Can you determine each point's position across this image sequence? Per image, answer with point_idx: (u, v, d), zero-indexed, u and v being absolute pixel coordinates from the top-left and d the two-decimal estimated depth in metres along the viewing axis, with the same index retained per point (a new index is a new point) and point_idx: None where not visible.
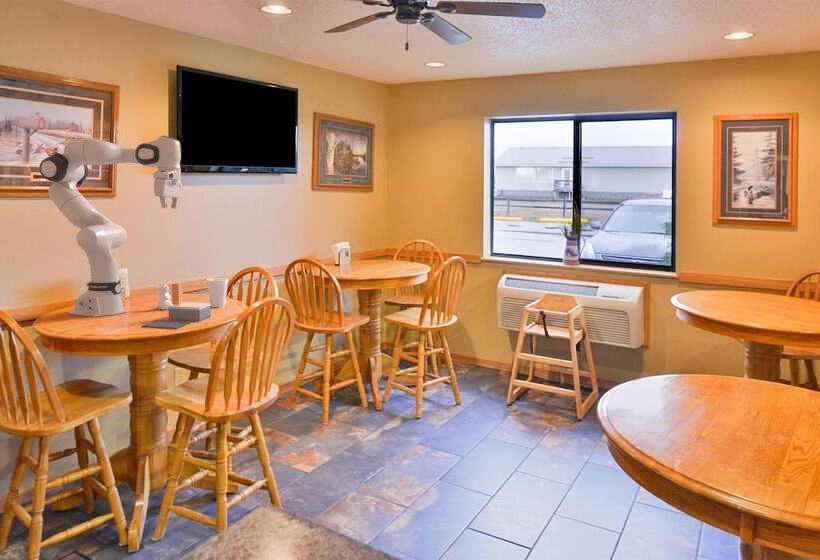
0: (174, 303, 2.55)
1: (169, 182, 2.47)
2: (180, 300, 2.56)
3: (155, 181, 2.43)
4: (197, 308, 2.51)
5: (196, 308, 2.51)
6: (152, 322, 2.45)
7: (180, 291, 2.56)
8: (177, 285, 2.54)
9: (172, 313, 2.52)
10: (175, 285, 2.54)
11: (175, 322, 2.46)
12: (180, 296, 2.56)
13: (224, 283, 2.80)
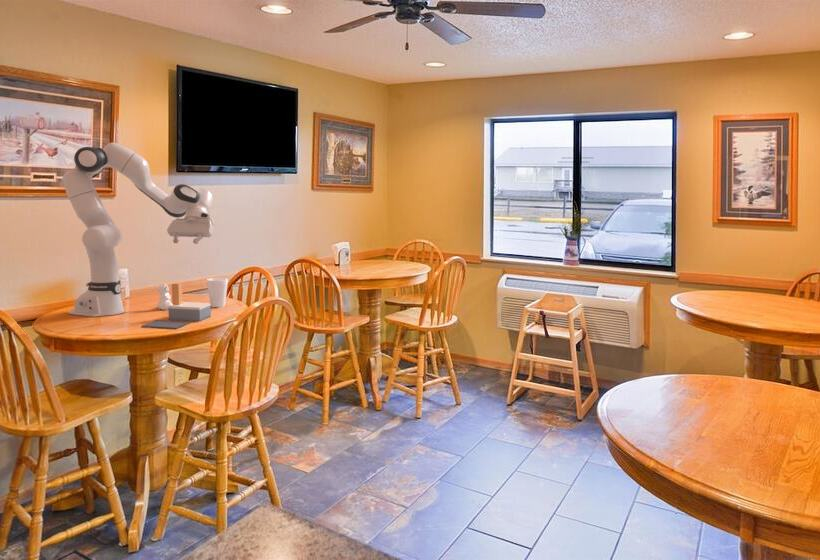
0: (174, 303, 2.55)
1: None
2: (180, 300, 2.56)
3: (211, 222, 2.65)
4: (197, 308, 2.51)
5: (196, 308, 2.51)
6: (152, 322, 2.45)
7: (180, 291, 2.56)
8: (177, 285, 2.54)
9: (172, 313, 2.52)
10: (175, 285, 2.54)
11: (175, 322, 2.46)
12: (180, 296, 2.56)
13: (224, 283, 2.80)
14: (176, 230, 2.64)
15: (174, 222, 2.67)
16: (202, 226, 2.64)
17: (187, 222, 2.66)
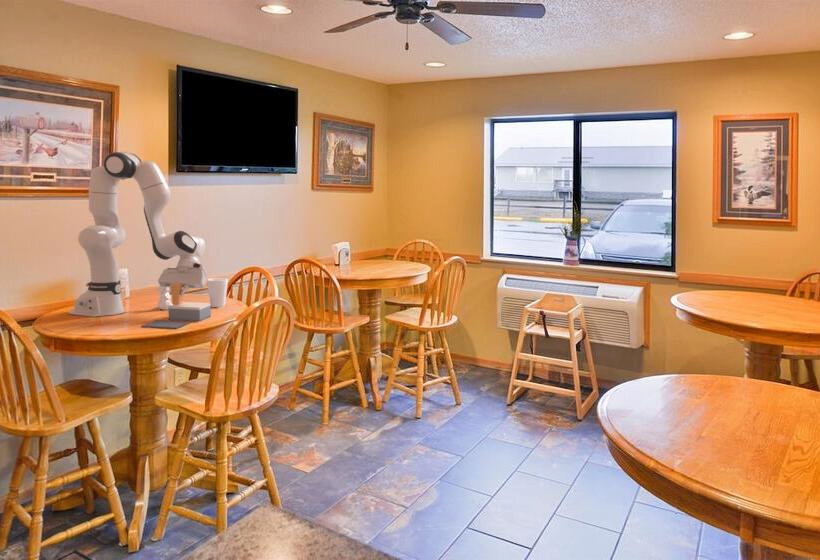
0: (174, 303, 2.55)
1: None
2: (180, 300, 2.56)
3: (203, 273, 2.59)
4: (197, 308, 2.51)
5: (196, 308, 2.51)
6: (152, 322, 2.45)
7: None
8: (177, 285, 2.54)
9: (172, 313, 2.52)
10: (175, 285, 2.54)
11: (175, 322, 2.46)
12: (180, 296, 2.56)
13: (224, 283, 2.80)
14: (167, 281, 2.58)
15: (165, 272, 2.61)
16: (194, 277, 2.58)
17: (179, 272, 2.60)
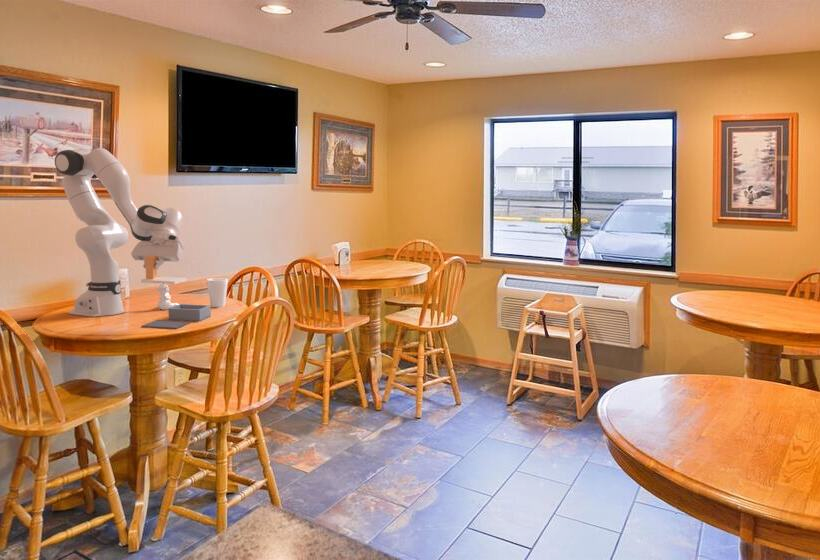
0: (148, 277, 2.40)
1: None
2: (154, 274, 2.41)
3: (179, 245, 2.44)
4: (172, 282, 2.35)
5: (171, 282, 2.35)
6: (152, 322, 2.45)
7: None
8: (151, 258, 2.39)
9: (172, 313, 2.52)
10: (149, 258, 2.39)
11: (175, 322, 2.46)
12: (154, 270, 2.41)
13: (224, 283, 2.80)
14: (141, 254, 2.43)
15: (139, 245, 2.46)
16: (170, 249, 2.43)
17: (153, 245, 2.45)
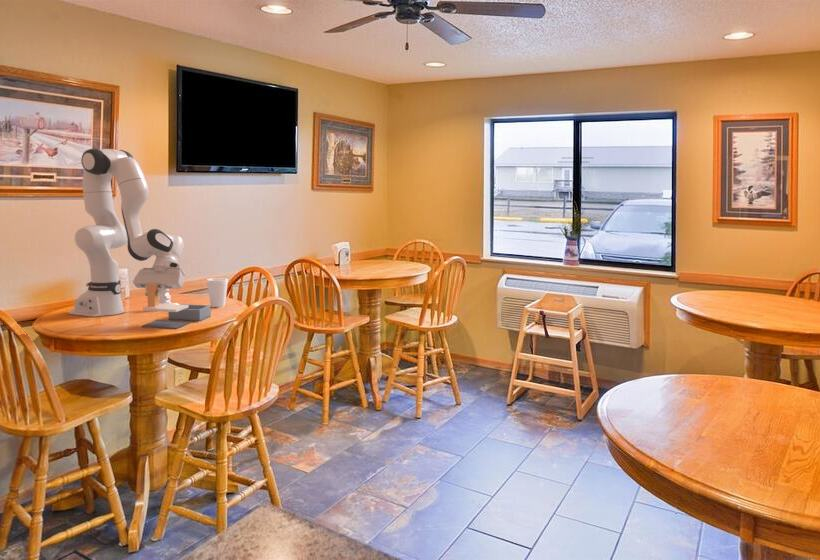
0: (150, 305, 2.42)
1: None
2: (156, 302, 2.42)
3: (180, 272, 2.46)
4: (173, 310, 2.37)
5: (172, 310, 2.37)
6: (152, 322, 2.45)
7: None
8: (153, 286, 2.40)
9: (172, 313, 2.52)
10: (150, 286, 2.40)
11: (175, 322, 2.46)
12: (156, 297, 2.42)
13: (224, 283, 2.80)
14: (143, 281, 2.44)
15: (141, 272, 2.47)
16: (171, 277, 2.44)
17: (155, 272, 2.47)
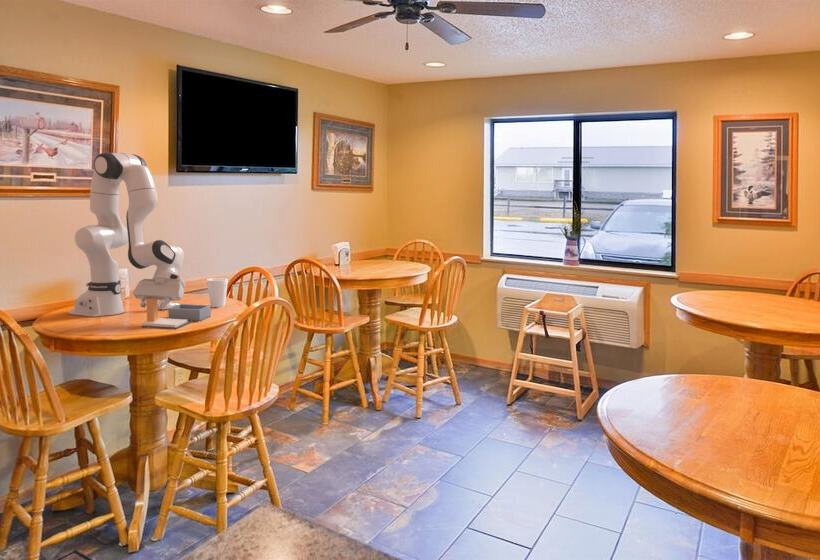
0: (149, 320, 2.43)
1: None
2: (155, 316, 2.43)
3: (180, 284, 2.46)
4: (173, 325, 2.38)
5: (172, 325, 2.38)
6: None
7: (155, 307, 2.43)
8: (152, 301, 2.41)
9: (172, 313, 2.52)
10: (150, 301, 2.41)
11: None
12: (155, 312, 2.43)
13: (224, 283, 2.80)
14: (143, 293, 2.45)
15: (141, 283, 2.48)
16: (171, 288, 2.45)
17: (155, 284, 2.47)
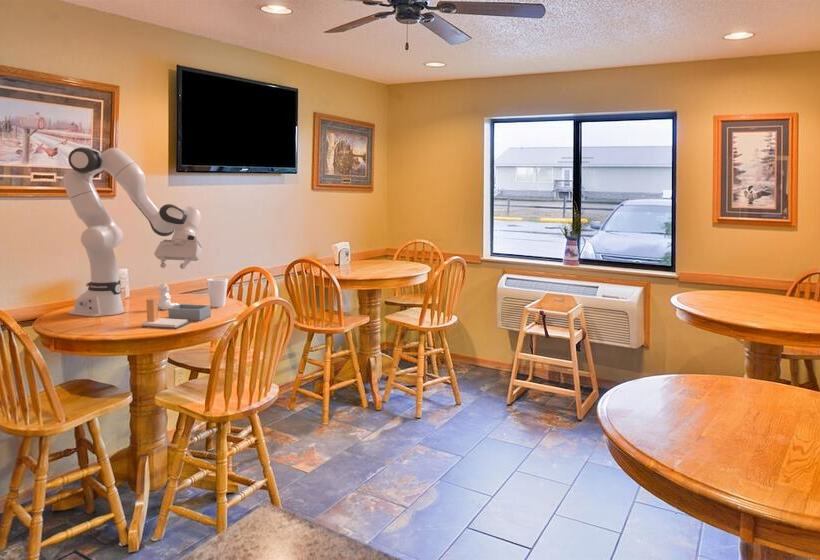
0: (149, 320, 2.43)
1: None
2: (155, 316, 2.43)
3: (197, 245, 2.57)
4: (173, 325, 2.38)
5: (172, 325, 2.38)
6: None
7: (155, 307, 2.43)
8: (152, 301, 2.41)
9: (172, 313, 2.52)
10: (150, 301, 2.41)
11: None
12: (155, 312, 2.43)
13: (224, 283, 2.80)
14: (163, 254, 2.57)
15: (161, 244, 2.60)
16: (189, 249, 2.56)
17: (174, 245, 2.59)
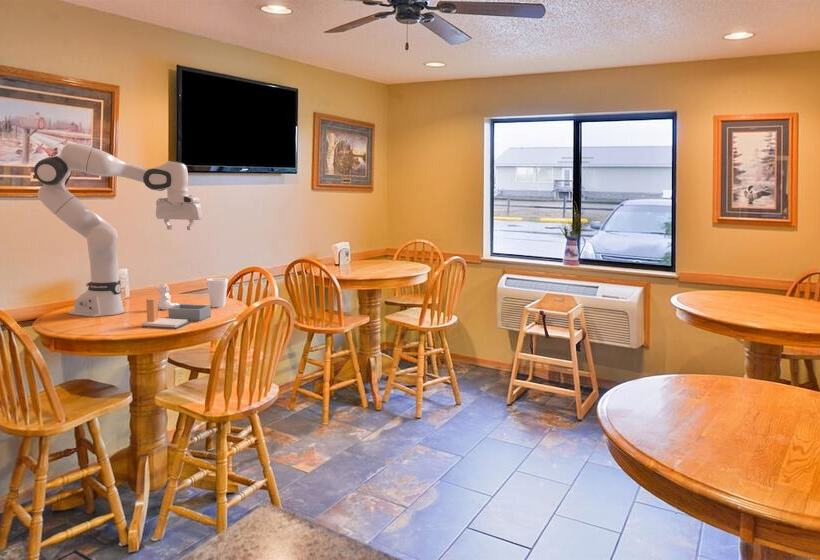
0: (149, 320, 2.43)
1: None
2: (155, 316, 2.43)
3: (196, 206, 2.60)
4: (173, 325, 2.38)
5: (172, 325, 2.38)
6: None
7: (155, 307, 2.43)
8: (152, 301, 2.41)
9: (172, 313, 2.52)
10: (150, 301, 2.41)
11: None
12: (155, 312, 2.43)
13: (224, 283, 2.80)
14: (165, 217, 2.62)
15: (159, 206, 2.62)
16: (190, 211, 2.61)
17: (172, 206, 2.61)
